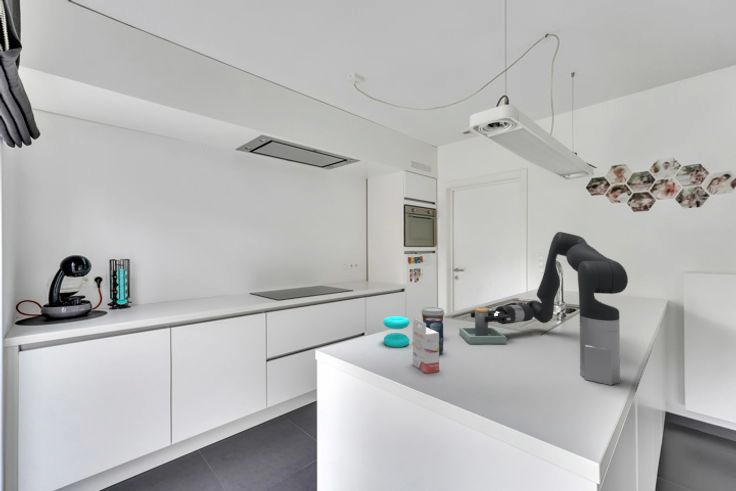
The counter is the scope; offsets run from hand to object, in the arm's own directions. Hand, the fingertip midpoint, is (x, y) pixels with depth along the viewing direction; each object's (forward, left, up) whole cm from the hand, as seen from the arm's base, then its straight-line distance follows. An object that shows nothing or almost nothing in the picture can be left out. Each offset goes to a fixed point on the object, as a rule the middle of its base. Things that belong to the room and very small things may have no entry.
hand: (477, 317), depth 128 cm
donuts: (-26, +22, -9) cm, 35 cm away
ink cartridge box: (-40, +1, -9) cm, 41 cm away
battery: (+2, -1, -8) cm, 9 cm away
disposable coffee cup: (-10, +15, -9) cm, 20 cm away
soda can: (-26, +6, -9) cm, 28 cm away
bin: (+1, -1, -9) cm, 9 cm away
